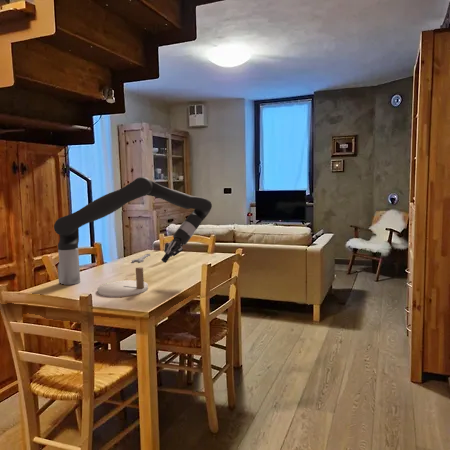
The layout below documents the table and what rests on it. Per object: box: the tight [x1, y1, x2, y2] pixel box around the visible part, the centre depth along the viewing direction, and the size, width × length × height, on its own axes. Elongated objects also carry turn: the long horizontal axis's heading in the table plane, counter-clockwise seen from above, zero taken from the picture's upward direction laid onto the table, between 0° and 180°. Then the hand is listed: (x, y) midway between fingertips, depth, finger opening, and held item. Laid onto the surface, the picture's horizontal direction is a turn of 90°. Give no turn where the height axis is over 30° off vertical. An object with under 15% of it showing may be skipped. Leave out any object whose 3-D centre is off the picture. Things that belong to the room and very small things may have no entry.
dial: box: [97, 266, 149, 298], centre depth 185 cm, size 22×22×10 cm
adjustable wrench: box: [131, 253, 151, 264], centre depth 262 cm, size 25×6×2 cm, turn 167°
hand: (163, 261), depth 192 cm, fingers closed
